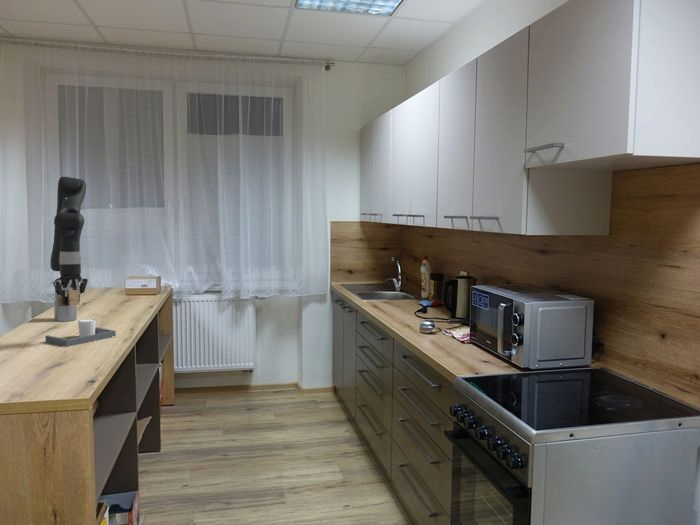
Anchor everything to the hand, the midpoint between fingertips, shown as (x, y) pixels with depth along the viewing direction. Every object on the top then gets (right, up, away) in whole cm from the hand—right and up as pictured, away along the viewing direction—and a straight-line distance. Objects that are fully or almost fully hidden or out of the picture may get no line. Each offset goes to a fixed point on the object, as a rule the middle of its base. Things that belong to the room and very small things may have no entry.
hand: (71, 304), depth 216 cm
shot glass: (+1, -15, +11) cm, 18 cm away
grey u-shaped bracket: (+1, -15, +6) cm, 16 cm away
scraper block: (-1, 0, +1) cm, 2 cm away
